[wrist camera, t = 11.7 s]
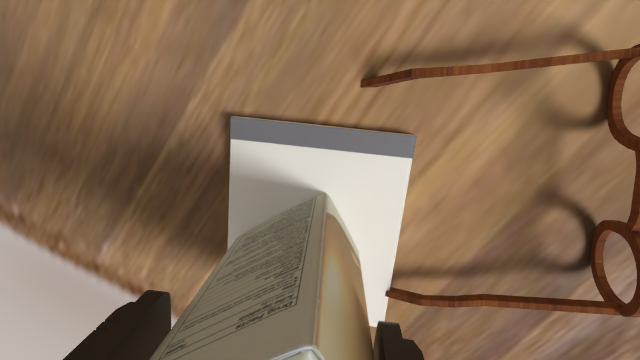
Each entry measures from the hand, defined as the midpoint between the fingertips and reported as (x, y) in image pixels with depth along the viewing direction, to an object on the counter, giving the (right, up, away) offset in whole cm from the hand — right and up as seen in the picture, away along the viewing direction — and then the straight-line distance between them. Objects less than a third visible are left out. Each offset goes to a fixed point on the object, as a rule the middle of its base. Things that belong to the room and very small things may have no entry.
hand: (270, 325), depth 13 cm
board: (+1, +3, +7) cm, 8 cm away
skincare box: (+1, +2, +7) cm, 8 cm away
